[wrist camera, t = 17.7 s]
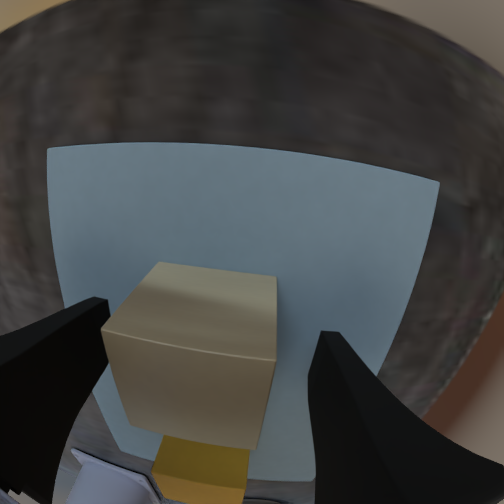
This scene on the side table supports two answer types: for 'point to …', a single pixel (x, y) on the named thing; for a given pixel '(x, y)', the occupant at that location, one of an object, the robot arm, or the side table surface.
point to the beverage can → (258, 501)
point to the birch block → (196, 353)
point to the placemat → (245, 255)
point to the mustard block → (200, 472)
